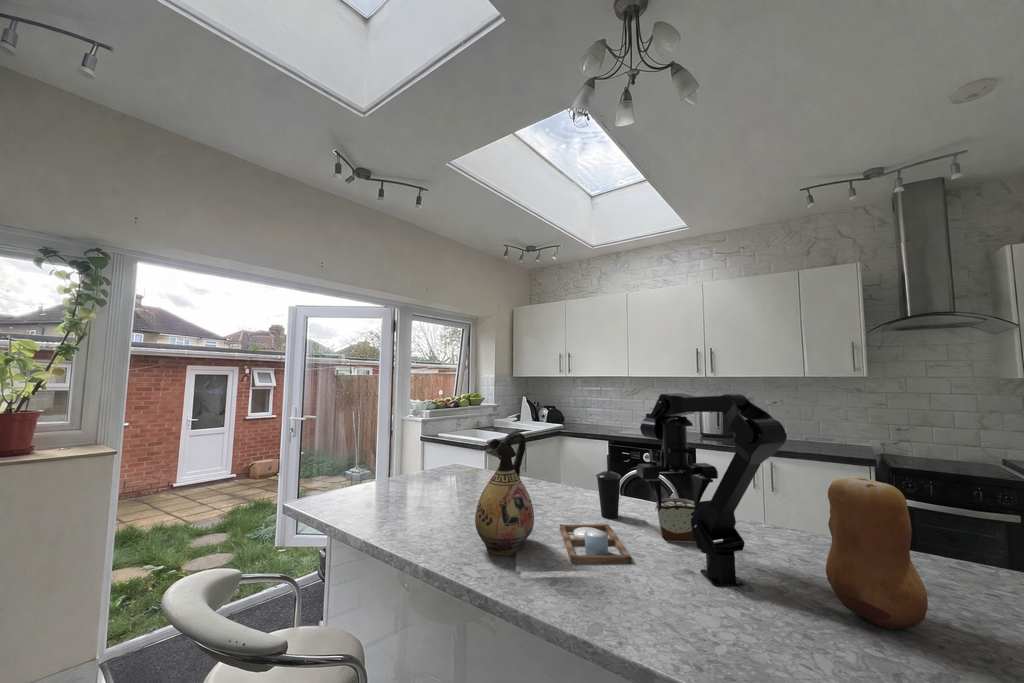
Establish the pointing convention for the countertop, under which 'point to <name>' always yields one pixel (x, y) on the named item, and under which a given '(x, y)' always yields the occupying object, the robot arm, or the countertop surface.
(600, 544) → the white-capped blue cylinder
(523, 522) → the ceramic jug
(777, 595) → the countertop surface
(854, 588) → the butternut squash
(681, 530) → the food container
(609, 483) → the drinking cup
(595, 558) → the rack
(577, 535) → the white smooth oval
